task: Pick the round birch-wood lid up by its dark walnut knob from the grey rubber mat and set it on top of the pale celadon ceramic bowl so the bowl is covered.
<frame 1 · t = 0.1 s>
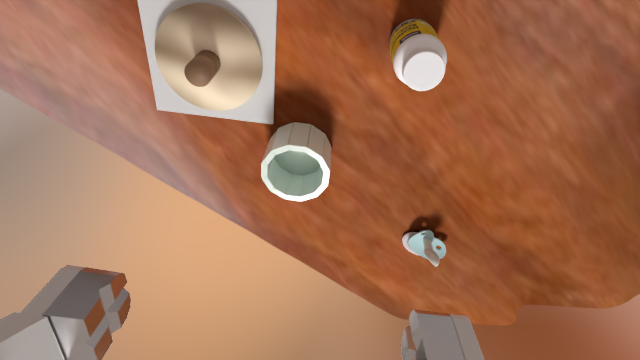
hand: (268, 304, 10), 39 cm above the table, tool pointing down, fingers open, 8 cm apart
bowl: (300, 150, 53), on the table
pacifier: (420, 238, 63), on the table
lid: (210, 59, 46), resting on mat
mat: (212, 58, 46), on the table
supplement bottle: (411, 41, 43), on the table
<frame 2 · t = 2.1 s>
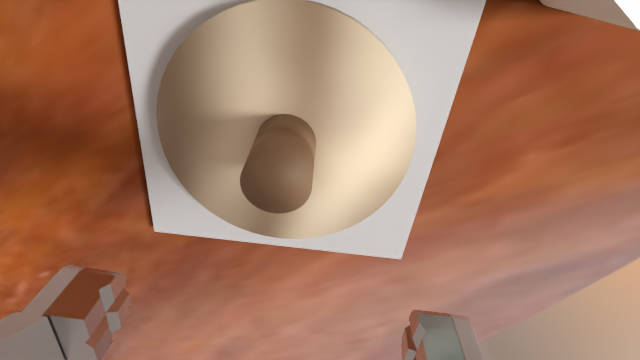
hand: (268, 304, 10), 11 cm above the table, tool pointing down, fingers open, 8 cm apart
lid: (288, 133, 19), resting on mat
mat: (289, 129, 20), on the table
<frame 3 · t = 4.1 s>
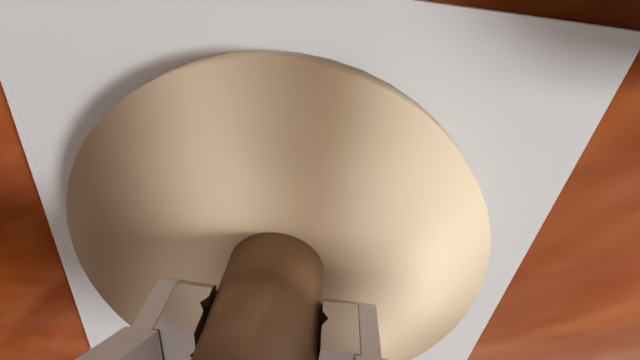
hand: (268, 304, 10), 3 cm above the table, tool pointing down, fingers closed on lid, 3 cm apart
lid: (281, 247, 12), resting on mat, touching gripper
mat: (283, 238, 13), on the table
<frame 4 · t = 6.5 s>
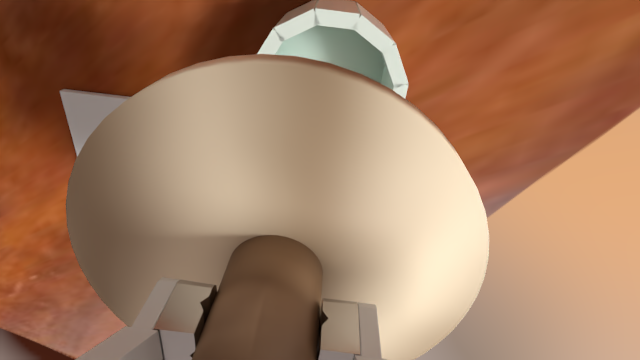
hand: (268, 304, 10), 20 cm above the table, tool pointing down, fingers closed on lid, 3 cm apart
bowl: (329, 68, 26), on the table
lid: (280, 250, 13), point 17 cm above the table, touching gripper
mat: (178, 187, 32), on the table
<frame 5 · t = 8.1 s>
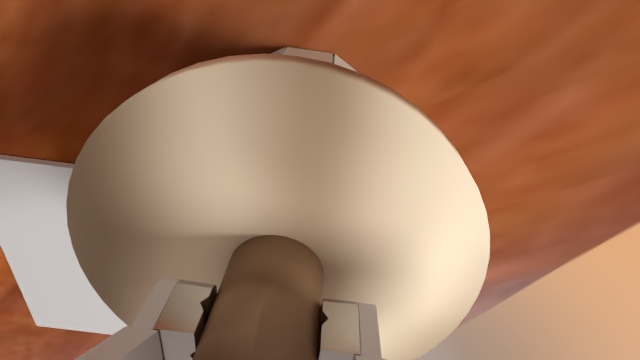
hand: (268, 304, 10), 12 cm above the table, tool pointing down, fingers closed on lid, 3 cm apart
bowl: (301, 132, 20), on the table
lid: (280, 250, 13), point 9 cm above the table, touching gripper
mat: (121, 262, 26), on the table
when the fingers open (10 cm above the table, at t = 9.4 s): lid drops 1 cm, resting on bowl.
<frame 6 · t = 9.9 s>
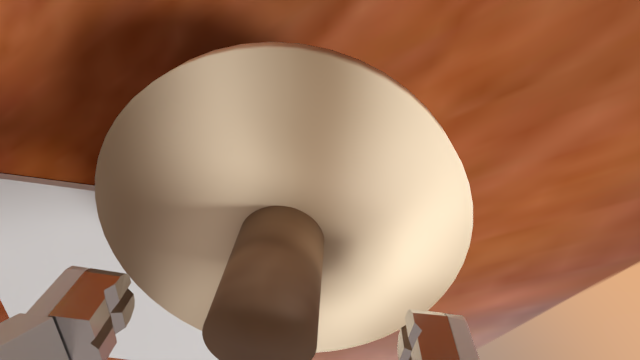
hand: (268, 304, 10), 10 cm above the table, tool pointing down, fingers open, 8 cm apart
lid: (285, 222, 14), point 6 cm above the table, touching bowl
mat: (111, 283, 25), on the table
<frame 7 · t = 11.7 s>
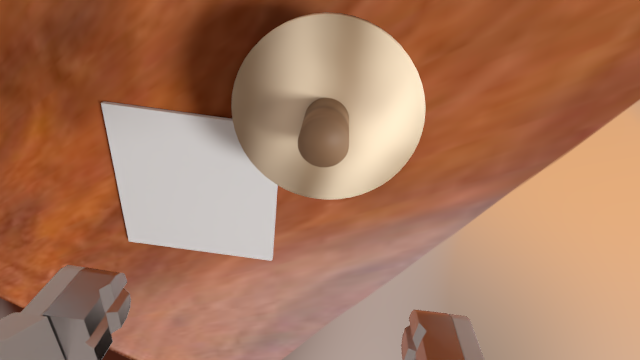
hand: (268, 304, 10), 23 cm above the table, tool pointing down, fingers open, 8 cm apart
lid: (327, 114, 26), point 6 cm above the table, touching bowl
mat: (198, 188, 37), on the table
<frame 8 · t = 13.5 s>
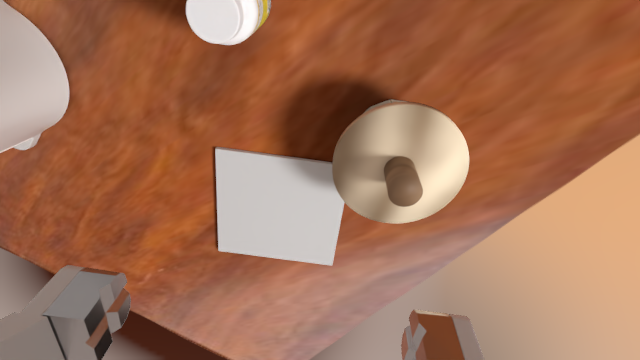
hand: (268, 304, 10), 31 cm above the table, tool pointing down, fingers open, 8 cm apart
lid: (398, 165, 36), point 6 cm above the table, touching bowl
mat: (279, 210, 47), on the table
supplement bottle: (244, 0, 35), on the table
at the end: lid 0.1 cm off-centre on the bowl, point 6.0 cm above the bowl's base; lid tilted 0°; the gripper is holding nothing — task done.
